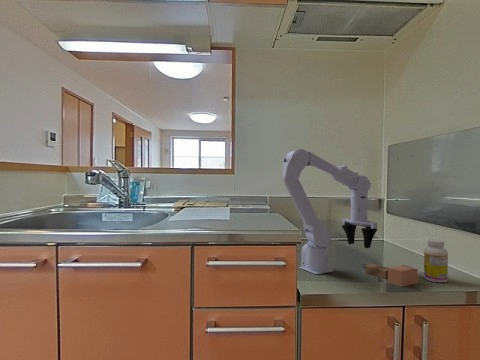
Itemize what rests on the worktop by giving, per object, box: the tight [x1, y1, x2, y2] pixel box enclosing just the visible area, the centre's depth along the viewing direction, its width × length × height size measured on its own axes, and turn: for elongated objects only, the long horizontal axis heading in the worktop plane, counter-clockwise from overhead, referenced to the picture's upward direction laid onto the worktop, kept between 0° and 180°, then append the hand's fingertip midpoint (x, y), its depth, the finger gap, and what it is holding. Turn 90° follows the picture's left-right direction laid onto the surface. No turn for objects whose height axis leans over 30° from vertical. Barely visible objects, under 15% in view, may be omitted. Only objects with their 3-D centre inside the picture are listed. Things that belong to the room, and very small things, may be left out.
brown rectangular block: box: [365, 263, 389, 280], centre depth 113 cm, size 8×4×3 cm, turn 30°
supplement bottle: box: [423, 238, 449, 284], centre depth 107 cm, size 7×7×13 cm
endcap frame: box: [361, 262, 418, 288], centre depth 112 cm, size 21×8×4 cm, turn 27°
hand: (358, 245), depth 121 cm, fingers open, 7 cm apart
